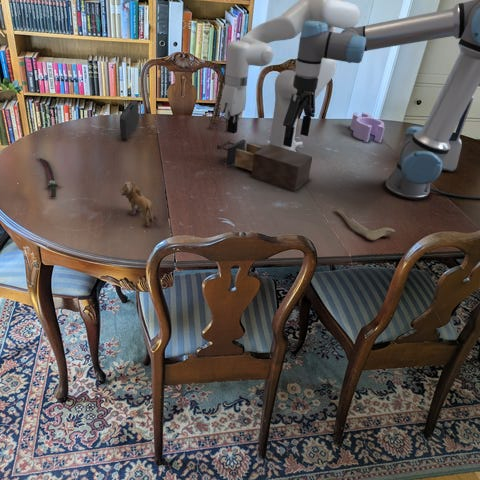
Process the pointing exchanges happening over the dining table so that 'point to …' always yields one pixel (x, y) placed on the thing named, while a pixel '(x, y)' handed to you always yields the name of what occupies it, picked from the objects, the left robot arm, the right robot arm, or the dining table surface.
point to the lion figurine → (137, 201)
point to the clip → (367, 127)
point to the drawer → (240, 153)
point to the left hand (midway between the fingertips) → (231, 132)
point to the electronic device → (455, 144)
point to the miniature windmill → (222, 80)
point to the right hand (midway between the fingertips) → (295, 140)
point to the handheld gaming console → (129, 119)
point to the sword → (52, 181)
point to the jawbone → (362, 230)
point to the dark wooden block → (281, 167)
